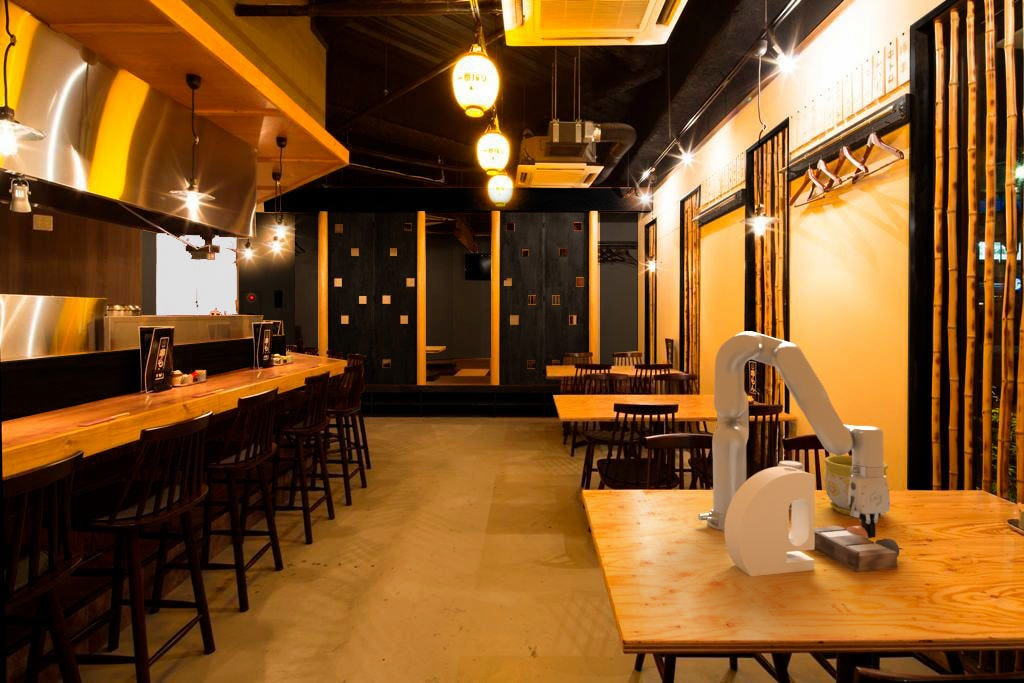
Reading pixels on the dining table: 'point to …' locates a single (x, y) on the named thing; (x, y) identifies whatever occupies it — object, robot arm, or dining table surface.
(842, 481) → the flowerpot
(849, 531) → the rust knob
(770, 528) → the bracket
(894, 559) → the brown wooden tray
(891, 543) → the white and grey bar
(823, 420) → the robot arm
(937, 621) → the dining table surface
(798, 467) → the supplement can
